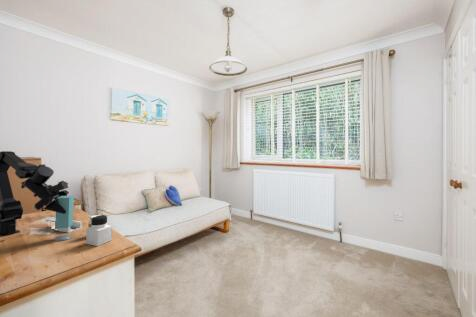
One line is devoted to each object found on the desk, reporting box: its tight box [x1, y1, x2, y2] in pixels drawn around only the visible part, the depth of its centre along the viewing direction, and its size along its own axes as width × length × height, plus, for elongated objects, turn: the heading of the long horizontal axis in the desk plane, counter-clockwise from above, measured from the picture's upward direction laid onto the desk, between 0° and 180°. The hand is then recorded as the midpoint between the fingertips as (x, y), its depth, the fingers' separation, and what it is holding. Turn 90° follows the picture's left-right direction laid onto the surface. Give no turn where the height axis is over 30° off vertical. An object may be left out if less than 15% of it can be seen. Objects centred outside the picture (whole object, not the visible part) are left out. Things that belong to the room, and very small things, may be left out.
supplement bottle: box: [87, 214, 99, 228], centre depth 107 cm, size 5×5×10 cm
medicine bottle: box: [85, 214, 113, 247], centre depth 99 cm, size 7×7×12 cm
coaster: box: [53, 234, 73, 242], centre depth 102 cm, size 7×7×1 cm
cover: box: [45, 216, 56, 222], centre depth 116 cm, size 10×7×3 cm
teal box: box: [55, 195, 75, 229], centre depth 103 cm, size 5×5×14 cm
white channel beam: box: [56, 219, 83, 234], centre depth 115 cm, size 13×7×4 cm, turn 71°
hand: (68, 211), depth 103 cm, fingers closed on teal box, 5 cm apart
